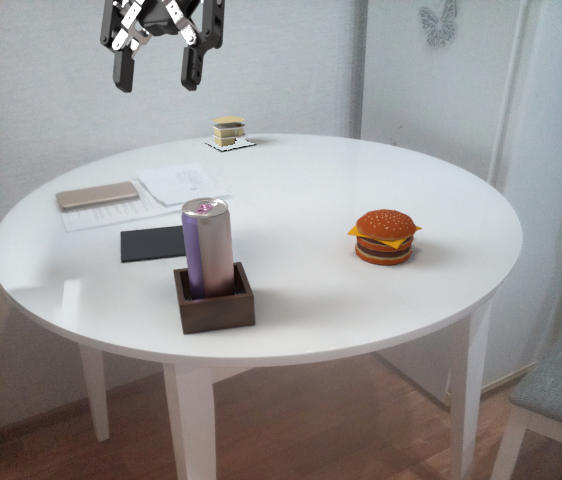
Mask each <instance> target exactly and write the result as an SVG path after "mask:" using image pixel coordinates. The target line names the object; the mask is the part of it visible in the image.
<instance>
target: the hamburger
mask: <svg viewBox="0 0 562 480" xmlns="http://www.w3.org/2000/svg"><path fill="white" fill-rule="evenodd" d="M420 230H423V227H420V226H418V225H416V223H415V222H414V221H413V218H411V216H409V215H408V214H406V213H404V212H401V211H398V210H396V209H386V208H381V209H375V210H369V211H367V212H366V213H364V214H362V216H361V217H359V218H358V219H357V220H356V222H355V225H354V226H353V227H351V228H350V230H349V231H348V232H347V234H346V235H348V236H353V237H354V236H355V237H356V243H355V245H354V251H355V254H356V256H358V258H360V259H361V260H362V261H365V262H367V263H370V264H375V265H381V266H382V265H383V266H384V265H385V266H387V265H388V266H390V265H391V266H392V265H396V264H402V263H404V262H405V261H408V260H409V258H410V256H411V255H412V253H413V250H412V244H413V242H414V238H415V237H414V235H415V234H416V233H417V232H418V231H420Z"/></svg>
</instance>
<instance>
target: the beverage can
mask: <svg viewBox="0 0 562 480" xmlns="http://www.w3.org/2000/svg"><path fill="white" fill-rule="evenodd" d="M181 211H182V212H181V217H180V218H181V225H182V226H183V234H184V242H185V250H186V256H185V257H186V258H185V259H186V266H187V267H186V268H188V275H189V283H190V291H191V298H190V299H191V300H199V299H207V298H215V297H223V296H231V295H236V293H235V283H234V268H233V263H234V256H233V240H232V239H233V238H232V226H231V225H232V224H231V213H230V210H229V205H228V203H227V201H225V200H224V199H220V198H218V197H217V198H216V197H197V198H193V199H189V200H187V201H186V202H184V204H182V206H181Z"/></svg>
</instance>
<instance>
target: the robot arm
mask: <svg viewBox="0 0 562 480" xmlns="http://www.w3.org/2000/svg"><path fill="white" fill-rule="evenodd" d="M200 3H201V5H202V17H201V31H200V29H199V28H198V26H197V25H196V23H195V20H194V19H193V17H192V16H193V14H194V13H195V11H196V10H197V8H198V7H199V5H200ZM225 3H226V0H104V6H103V11H102V12H103V13H102V21H101V27H100V36H99V43H100V44H101V45H102V46H103V47H105V48H106V49H107V50H108V51H110V52H111V53H112V54H114V57H113V69H112V81H113V83H114V86H115V87H116V88H117V89H118V90H119V91H121V92H122V93H124V94H131V93H132V92H133V84H134V75H135V64H136V62H135V59H134V58H135V57H136V55H137V54H138V52H139V50H140V49H141V48H142V46H146V45H147V44H148V43H149V42H150V40H151V39H152V37H154V38H155V37H161V36H163V35H170V36H178V35H179V33H180V34H181V35H182V37H183V39H184V41H185V42H186V44H187V46H183V54H182V61H181V73H180V84H181V86H182V87H183V88H185V90H187V91H188V92H196V91H197V89H198V86H200V84H201V82H202V77H203V76H202V75H203V69H204V68H203V67H204V57H205V55H206V54H207V52H208V51H210V50H212V49H215V50H219V49H221V48H222V46H223V43H224V27H225V26H224V25H225V11H226V10H225V7H226V4H225ZM137 23H138V24H139V25H140V27H141V28H142V29H140V30H138V29H137V28H136V24H137ZM128 42H129V43H128Z"/></svg>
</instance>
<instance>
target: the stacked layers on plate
mask: <svg viewBox="0 0 562 480" xmlns="http://www.w3.org/2000/svg"><path fill="white" fill-rule="evenodd" d="M212 121H213V122H215V123H217V124H211V127H212V128H213V134H212V136H213V137H214V140H215V143H216V144H218V145H219V146H221V147H223V146H228V145H233V144H235V141H237V140H236V138H241V137H243V138H245V137H246V133H245V131H244V130H245V127H246V124H245V123H242V122H244V121H245V118H243V117H239V116H235V115H226V116H221V117H218V118H213V119H212ZM228 150H229V149H228ZM228 150H227V151H228ZM232 150H234V149H232ZM232 150H231V151H232ZM227 151H226V152H227ZM229 151H230V150H229ZM219 152H220V153H222V152H221V151H219Z"/></svg>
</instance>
